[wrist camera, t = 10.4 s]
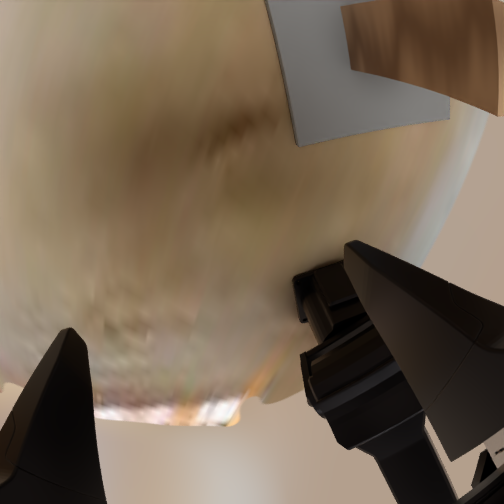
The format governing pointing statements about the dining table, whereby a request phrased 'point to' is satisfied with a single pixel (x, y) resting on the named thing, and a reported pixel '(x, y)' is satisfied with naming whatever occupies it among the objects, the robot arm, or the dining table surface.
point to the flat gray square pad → (338, 78)
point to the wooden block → (432, 46)
